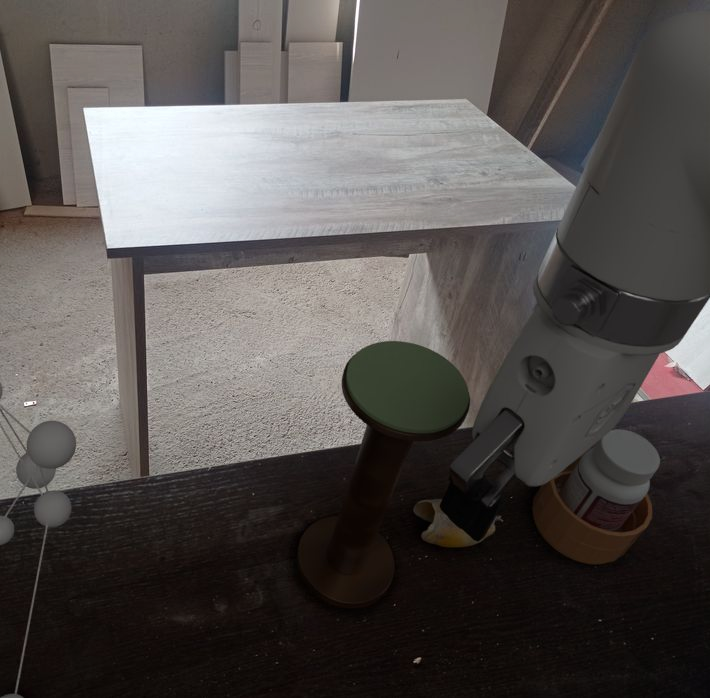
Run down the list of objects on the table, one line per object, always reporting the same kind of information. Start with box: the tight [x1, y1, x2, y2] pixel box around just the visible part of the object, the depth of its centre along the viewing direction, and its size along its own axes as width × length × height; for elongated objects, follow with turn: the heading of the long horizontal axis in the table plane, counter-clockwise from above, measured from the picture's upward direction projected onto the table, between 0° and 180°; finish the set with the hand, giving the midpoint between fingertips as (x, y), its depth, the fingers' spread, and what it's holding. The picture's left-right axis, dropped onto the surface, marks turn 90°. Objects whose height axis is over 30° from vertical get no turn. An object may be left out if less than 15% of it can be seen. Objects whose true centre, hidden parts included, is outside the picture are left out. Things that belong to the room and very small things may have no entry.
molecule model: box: [0, 382, 77, 698], centre depth 57 cm, size 14×25×18 cm, turn 172°
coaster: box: [346, 340, 470, 434], centre depth 50 cm, size 9×9×1 cm
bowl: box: [531, 453, 653, 565], centre depth 71 cm, size 9×9×6 cm
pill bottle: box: [558, 428, 661, 532], centre depth 68 cm, size 6×6×11 cm
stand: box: [296, 354, 471, 609], centre depth 59 cm, size 9×9×24 cm
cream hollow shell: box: [412, 498, 504, 548], centre depth 69 cm, size 8×4×5 cm, turn 103°
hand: (506, 486), depth 48 cm, fingers open, 9 cm apart
